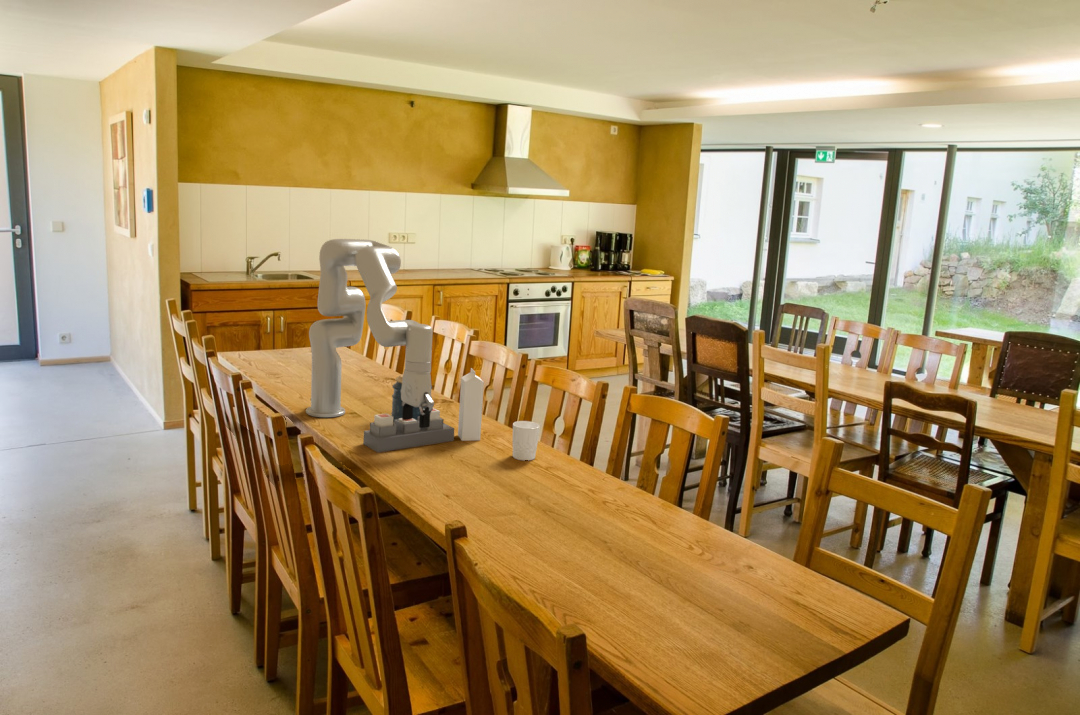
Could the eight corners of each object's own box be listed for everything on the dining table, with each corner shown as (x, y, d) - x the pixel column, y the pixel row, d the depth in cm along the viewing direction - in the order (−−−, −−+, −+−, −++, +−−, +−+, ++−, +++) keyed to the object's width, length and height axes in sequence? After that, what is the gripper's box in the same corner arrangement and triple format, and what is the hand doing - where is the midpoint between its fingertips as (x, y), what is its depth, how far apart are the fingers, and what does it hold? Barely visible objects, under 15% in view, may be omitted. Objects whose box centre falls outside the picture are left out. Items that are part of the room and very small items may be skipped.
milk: (476, 435, 244) (480, 367, 240) (480, 440, 239) (485, 371, 235) (457, 435, 243) (461, 367, 239) (461, 440, 237) (465, 371, 233)
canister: (403, 428, 245) (405, 374, 242) (383, 418, 255) (385, 366, 252) (437, 423, 254) (440, 371, 250) (417, 414, 263) (420, 363, 260)
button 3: (421, 418, 235) (421, 408, 235) (432, 417, 238) (433, 407, 237) (428, 422, 232) (428, 411, 232) (439, 420, 235) (439, 410, 234)
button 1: (374, 424, 225) (374, 414, 224) (386, 423, 228) (386, 413, 227) (380, 428, 222) (381, 417, 221) (392, 426, 225) (393, 416, 224)
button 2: (398, 428, 230) (398, 418, 230) (409, 426, 233) (410, 416, 232) (404, 431, 227) (405, 421, 227) (416, 430, 230) (416, 419, 229)
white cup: (540, 455, 229) (542, 423, 227) (532, 463, 221) (535, 429, 219) (515, 451, 231) (517, 419, 229) (507, 458, 223) (509, 426, 221)
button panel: (363, 443, 227) (364, 421, 226) (438, 432, 243) (439, 412, 242) (377, 452, 220) (378, 429, 219) (453, 440, 237) (454, 419, 235)
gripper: (392, 361, 227) (390, 417, 230) (422, 373, 214) (419, 432, 217) (414, 360, 232) (412, 414, 235) (444, 371, 219) (442, 429, 222)
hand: (415, 423), depth 226 cm, fingers open, 9 cm apart
